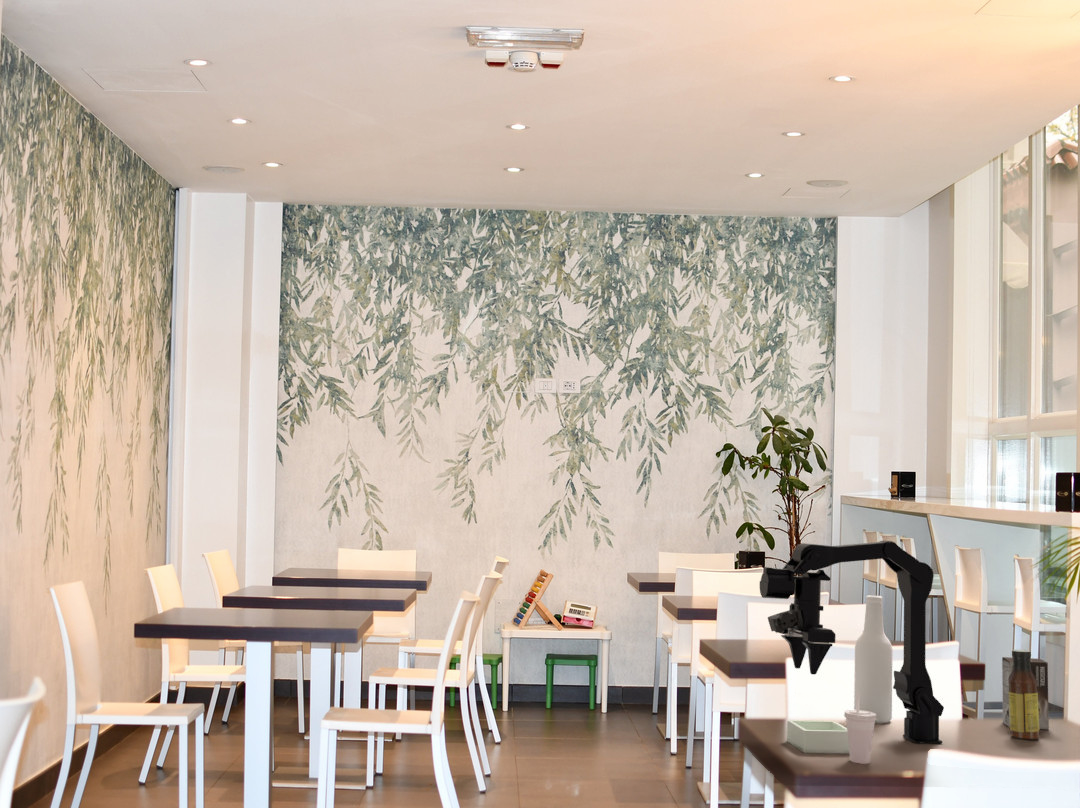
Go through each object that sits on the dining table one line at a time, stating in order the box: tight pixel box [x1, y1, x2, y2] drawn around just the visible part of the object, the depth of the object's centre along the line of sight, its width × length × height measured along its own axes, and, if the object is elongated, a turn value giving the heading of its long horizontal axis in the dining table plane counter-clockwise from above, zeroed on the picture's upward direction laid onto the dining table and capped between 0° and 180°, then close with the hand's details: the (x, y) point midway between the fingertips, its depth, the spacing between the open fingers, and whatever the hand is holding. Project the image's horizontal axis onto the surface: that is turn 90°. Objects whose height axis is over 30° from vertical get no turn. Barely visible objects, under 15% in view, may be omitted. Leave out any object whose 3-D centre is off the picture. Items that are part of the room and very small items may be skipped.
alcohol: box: [853, 594, 893, 725], centre depth 263 cm, size 9×9×30 cm
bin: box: [786, 719, 850, 754], centre depth 230 cm, size 11×11×4 cm
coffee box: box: [1001, 656, 1050, 730], centre depth 262 cm, size 9×6×16 cm
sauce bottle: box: [1008, 649, 1040, 741], centre depth 249 cm, size 6×6×20 cm
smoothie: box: [843, 691, 877, 765], centre depth 218 cm, size 6×6×14 cm
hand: (805, 671), depth 238 cm, fingers open, 9 cm apart
